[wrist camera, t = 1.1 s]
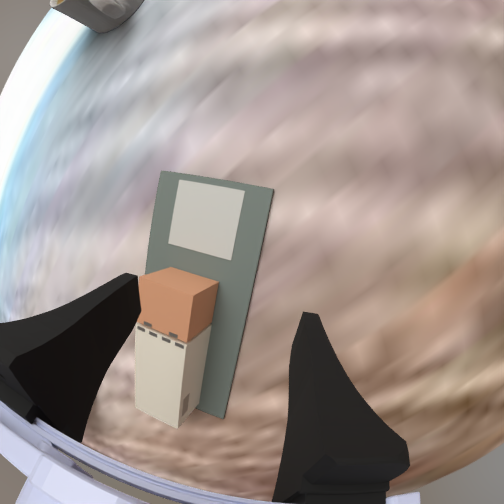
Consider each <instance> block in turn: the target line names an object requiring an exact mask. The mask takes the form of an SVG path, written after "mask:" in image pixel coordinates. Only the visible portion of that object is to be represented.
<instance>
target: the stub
mask: <svg viewBox="0 0 504 504" xmlns="http://www.w3.org/2000/svg"><path fill="white" fill-rule="evenodd" d="M218 284H219V281H215V280H212V279H209V278H205V277H202V276H199V275H195V274H192V273H189V272H186V271H183V270H179V269H176V268H173V267H169V268H166V269H162V270H159V271H156V272H153V273H150V274H146V275H143V276H140V277H139V294H140V302H141V310H142V311H141V313H140V315H139V318H138V320H137V322H139V323H141V324H144V325H146V326H148V327H150V328H153V329H155V330H157V331H160V332H162V333H164V334H167V335H169V336H172V337H174V338H176V339H179V340H181V341H184V342H186V343H187V342H188V341H189V340H191V339H192V338H193V337H194V336H196V335H197V334H198V333H199V332H201V331H202V330H203V329H204V328H205V327H207V326H208V325H209V324H210V323H212V318H213V312H214V307H215V301H216V295H217V290H218Z"/></svg>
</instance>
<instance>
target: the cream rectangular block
mask: <svg viewBox="0 0 504 504" xmlns="http://www.w3.org/2000/svg"><path fill="white" fill-rule="evenodd" d="M211 326H212V325H211V324H209V325H208V326H207V327H205V328H204V329H203V330H202V331H201V332H199V333H198V334H197V335H196V336H194V337H193V338H192V339H191V340H189V341H188V342H187V343H186V342H184V341H181V340H179V339H176V338H174V337H172V336H169V335H167V334H164V333H162V332H160V331H157V330H155V329H153V328H150V327H148V326H146V325H144V324H141V323H137V324H136V335H135V408H137V409H139V410H141V411H142V412H144V413H146V414H148V415H150V416H152V417H154V418H156V419H158V420H160V421H162V422H164V423H166V424H168V425H170V426H172V427H174V428H176V429H178V428H179V427H180V426H181V425H182V423H183V422H184V421H185V420H186V419H187V417H188V416H189V415H190V414H191V412H192V411H193V410H194V409H195V408H196V406H197V405H198V404H199V400H200V394H201V387H202V381H203V375H204V368H205V362H206V356H207V350H208V344H209V338H210V332H211Z"/></svg>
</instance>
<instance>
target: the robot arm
mask: <svg viewBox="0 0 504 504" xmlns="http://www.w3.org/2000/svg"><path fill="white" fill-rule="evenodd" d="M141 311H142V310H141V302H140V294H139V286H138V276H137V275H133V274H129V273H124V274H122V275H120V276H118V277H116V278H115V279H113V280H111V281H109V282H107V283H106V284H104V285H102V286H100V287H98V288H97V289H95V290H93V291H91V292H89V293H88V294H86V295H84V296H82V297H80V298H78V299H76V300H74V301H72V302H70V303H68V304H66V305H63V306H61V307H59V308H56V309H54V310H51V311H48V312H45V313H42V314H39V315H36V316H33V317H30V318H26V319H22V320H17V321H12V322H6V323H0V453H1V454H2V455H3V456H4V457H5V458H6V459H7V460H8V461H9V462H11V463H12V464H13V465H14V466H15V467H16V468H18V469H19V470H20V471H21V472H22V473H24V474H25V475H26V476H27V477H28V478H27V480H26V482H25V484H24V486H23V488H22V490H21V493H20V495H19V497H18V499H17V501H16V503H15V504H150V503H147V502H144V501H142V500H139V499H137V498H134V497H132V496H130V495H127V494H125V493H123V492H120V491H118V490H116V489H114V488H111V487H109V486H107V485H105V484H103V483H101V482H99V481H97V480H94V479H93V477H92V475H90V474H89V473H87V472H86V471H84V470H83V469H82V468H80V467H79V466H78V465H77V464H76V463H75V462H74V461H73V460H71V459H70V458H68V457H67V456H65V455H64V454H62V453H61V452H59V451H58V449H59V450H60V451H62V452H64V453H65V454H67V455H69V456H70V457H72V458H74V459H76V460H78V461H79V462H81V463H83V464H85V465H87V466H89V467H91V468H93V469H95V470H97V471H99V472H101V473H103V474H105V475H107V476H109V477H111V478H114V479H116V480H118V481H120V482H123V483H125V484H128V485H130V486H133V487H135V488H138V489H140V490H143V491H145V492H148V493H151V494H154V495H157V496H160V497H163V498H166V499H169V500H172V501H175V502H179V503H182V504H421V503H420V493H419V492H413V493H407V494H401V495H395V496H390V497H387V498H386V491H388V490H389V481H391V480H392V479H394V478H396V477H397V476H399V475H401V474H402V473H404V472H405V471H406V470H407V469H408V468H409V466H410V461H409V452H408V448H407V444H406V441H405V440H404V439H402V438H401V437H400V436H399V435H398V434H397V433H395V432H394V431H393V430H392V429H391V428H390V427H389V426H387V425H386V424H385V423H384V422H383V420H382V419H381V418H380V417H379V416H378V415H377V414H376V413H375V412H374V411H373V410H372V409H371V407H370V406H369V405H368V404H367V403H366V401H365V400H364V399H363V398H362V396H361V395H360V394H359V392H358V391H357V390H356V388H355V387H354V385H353V384H352V382H351V381H350V379H349V377H348V376H347V374H346V372H345V371H344V369H343V367H342V365H341V364H340V362H339V360H338V358H337V356H336V354H335V352H334V350H333V348H332V346H331V344H330V341H329V339H328V337H327V335H326V332H325V330H324V327H323V325H322V322H321V320H320V317H319V315H318V314H314V313H308V312H303V314H302V317H301V320H300V323H299V326H298V329H297V332H296V335H295V338H294V341H293V344H292V349H291V356H290V364H289V407H288V421H287V428H286V435H285V441H284V447H283V453H282V458H281V463H280V468H279V473H278V478H277V482H276V487H275V491H274V495H273V499H272V502H267V501H259V500H252V499H245V498H239V497H233V496H228V495H223V494H218V493H213V492H209V491H205V490H201V489H197V488H193V487H189V486H186V485H182V484H179V483H175V482H172V481H169V480H166V479H163V478H160V477H157V476H154V475H151V474H148V473H145V472H143V471H140V470H137V469H135V468H132V467H130V466H127V465H125V464H123V463H120V462H118V461H116V460H113V459H111V458H109V457H107V456H105V455H103V454H100V453H98V452H96V451H94V450H92V449H90V448H88V447H86V446H84V445H83V444H81V442H82V439H83V435H84V431H85V427H86V424H87V420H88V417H89V414H90V411H91V408H92V405H93V402H94V400H95V397H96V395H97V392H98V390H99V387H100V385H101V383H102V380H103V378H104V376H105V374H106V372H107V370H108V368H109V366H110V364H111V363H112V361H113V360H114V358H115V357H116V355H117V353H118V352H119V350H120V349H121V347H122V346H123V344H124V343H125V341H126V339H127V338H128V336H129V335H130V333H131V332H132V330H133V328H134V326H135V324H136V322H137V320H138V318H139V315H140V313H141Z"/></svg>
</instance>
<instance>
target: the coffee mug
mask: <svg viewBox="0 0 504 504" xmlns="http://www.w3.org/2000/svg"><path fill="white" fill-rule="evenodd" d="M143 1H144V0H51V1H50V6H51V7H52V8H53V9H55V10H57V11H59V12H61V13H63V14H65V15H67V16H69V17H71V18H73V19H74V20H76V21H78V22H80V23H82V24H83V25H85V26H87V27H89V28H91V29H92V30H94V31H96V32H98V33H105V32H108V31H111V30H113V29H115V28H116V27H118V26H119V25H121V24H122V23H123V22H125V21H126V20H127V19H128V18H129V17H130V16H131V15H132V14H133V13H134V12H135V11H136V10H137V9H138V8H139V6H140V5H141V4H142V2H143Z"/></svg>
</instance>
